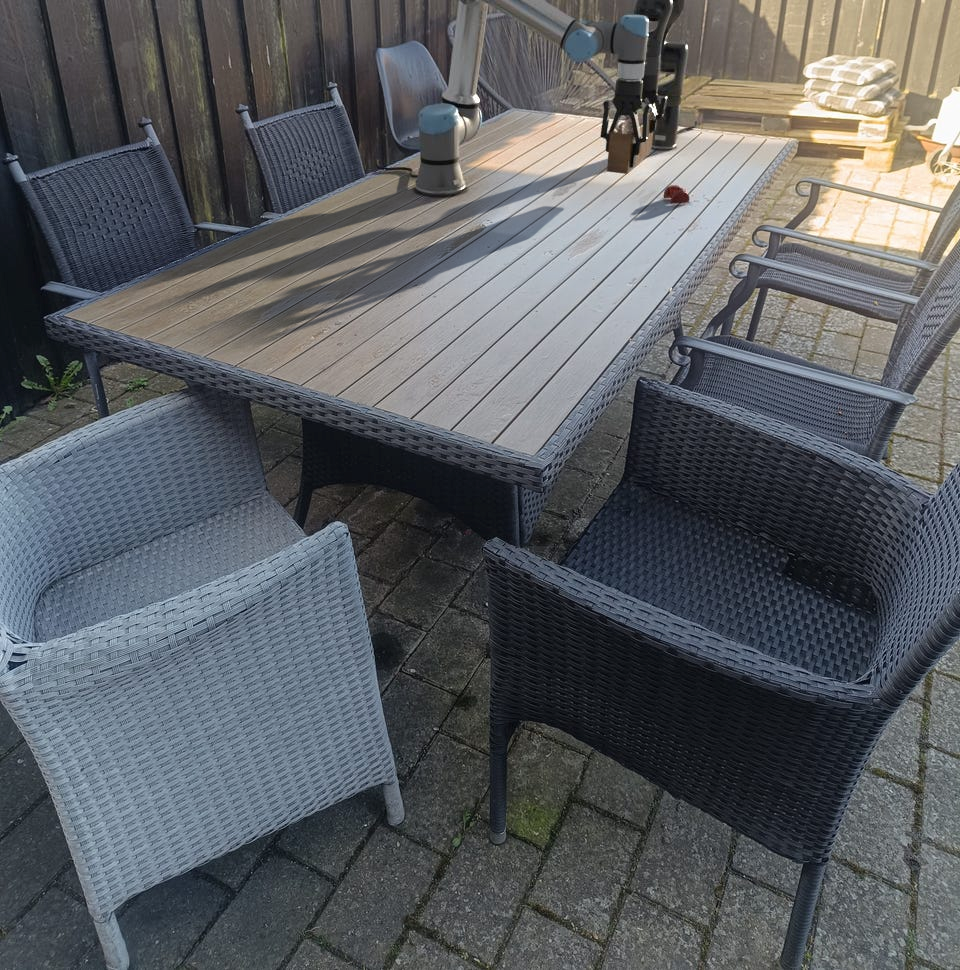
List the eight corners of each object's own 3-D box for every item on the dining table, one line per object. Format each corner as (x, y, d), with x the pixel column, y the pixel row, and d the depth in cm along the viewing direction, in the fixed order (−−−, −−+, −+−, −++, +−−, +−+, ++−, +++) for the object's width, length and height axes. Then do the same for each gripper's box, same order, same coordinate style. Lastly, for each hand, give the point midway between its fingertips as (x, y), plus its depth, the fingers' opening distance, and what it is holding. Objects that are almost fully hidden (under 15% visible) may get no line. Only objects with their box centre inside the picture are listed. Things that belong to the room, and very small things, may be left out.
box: (627, 174, 243) (631, 134, 237) (606, 171, 245) (610, 132, 239) (650, 151, 264) (655, 114, 257) (631, 149, 266) (635, 112, 259)
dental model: (680, 181, 250) (692, 189, 244) (678, 195, 253) (690, 203, 247) (662, 183, 249) (674, 191, 243) (661, 197, 252) (672, 206, 246)
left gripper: (667, 79, 233) (656, 165, 247) (600, 73, 239) (594, 158, 253) (660, 84, 227) (650, 171, 241) (592, 78, 234) (586, 164, 247)
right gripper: (673, 71, 248) (666, 131, 258) (626, 67, 253) (621, 126, 263) (667, 75, 243) (660, 136, 252) (619, 72, 247) (614, 132, 257)
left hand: (621, 164), depth 247 cm, fingers closed on box, 6 cm apart
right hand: (640, 131), depth 258 cm, fingers closed on box, 6 cm apart
